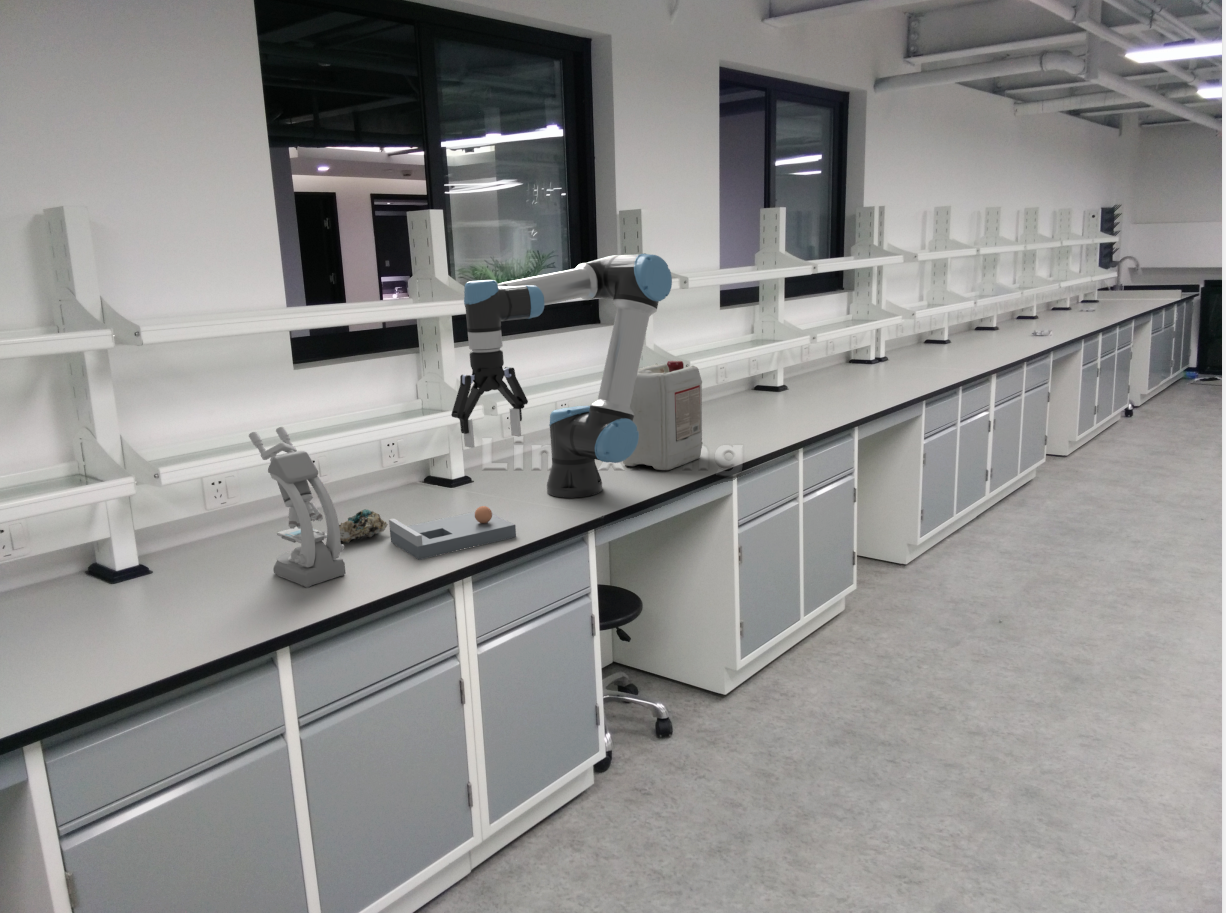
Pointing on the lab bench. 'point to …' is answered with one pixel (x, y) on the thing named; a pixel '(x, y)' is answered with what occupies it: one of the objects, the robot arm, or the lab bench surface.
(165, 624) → the lab bench surface
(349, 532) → the mineral specimen
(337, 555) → the microscope
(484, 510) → the ball
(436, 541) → the grey flat block
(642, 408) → the jerry can
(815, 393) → the lab bench surface
